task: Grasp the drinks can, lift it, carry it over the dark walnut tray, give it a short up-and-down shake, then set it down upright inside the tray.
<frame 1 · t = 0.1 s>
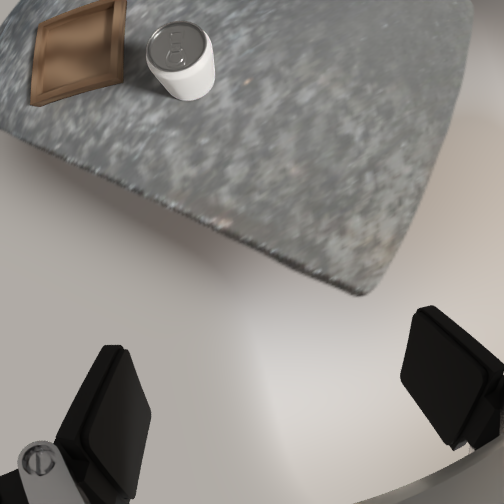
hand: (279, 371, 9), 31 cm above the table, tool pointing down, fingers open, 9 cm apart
can: (190, 78, 33), on the table
tray: (79, 51, 30), on the table
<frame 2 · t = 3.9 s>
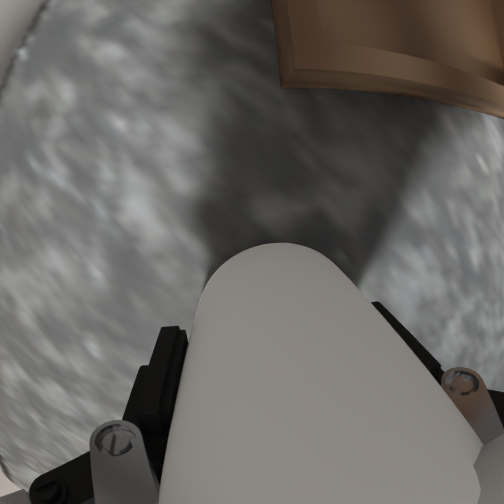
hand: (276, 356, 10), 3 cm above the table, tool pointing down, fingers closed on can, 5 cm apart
can: (275, 311, 13), on the table, touching gripper
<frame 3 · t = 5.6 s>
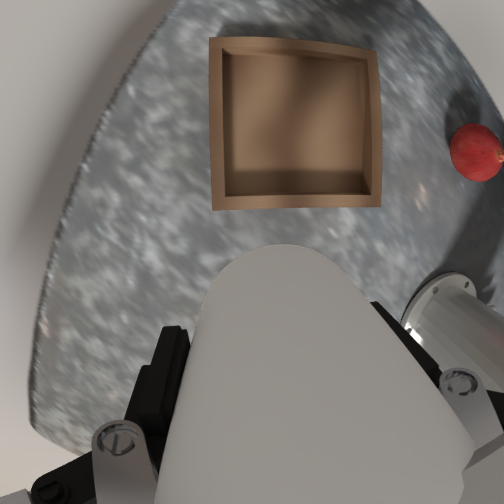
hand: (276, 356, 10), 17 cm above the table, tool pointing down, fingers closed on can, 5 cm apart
can: (278, 312, 13), point 14 cm above the table, touching gripper
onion: (452, 150, 26), on the table
tray: (294, 122, 24), on the table
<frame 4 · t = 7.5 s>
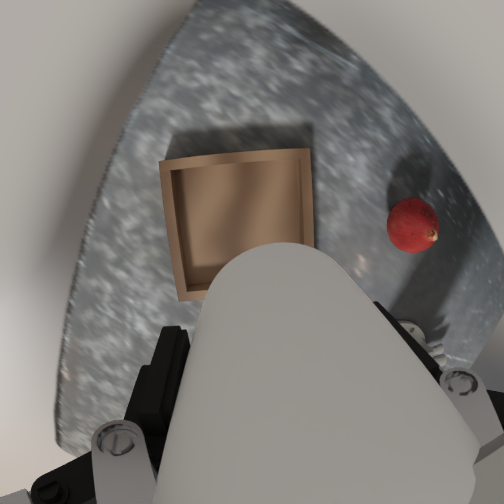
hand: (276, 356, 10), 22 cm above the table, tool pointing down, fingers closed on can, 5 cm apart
can: (279, 310, 13), point 19 cm above the table, touching gripper
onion: (394, 218, 32), on the table
tray: (239, 222, 31), on the table
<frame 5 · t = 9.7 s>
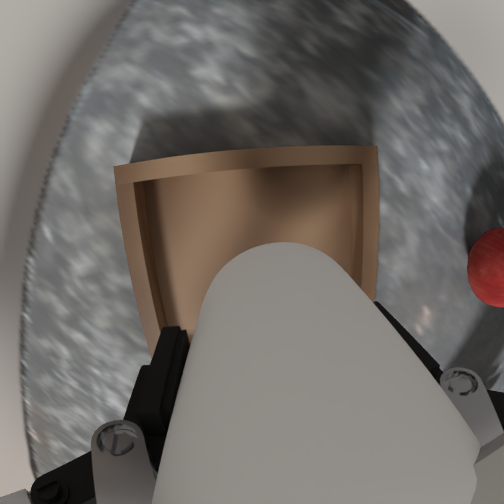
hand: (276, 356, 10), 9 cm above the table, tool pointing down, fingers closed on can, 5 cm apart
can: (279, 310, 13), point 6 cm above the table, touching gripper
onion: (470, 252, 20), on the table
tray: (255, 266, 19), on the table
when the fingers open (5 cm above the table, at t = 11.4 s): can stays where it is, resting on tray.
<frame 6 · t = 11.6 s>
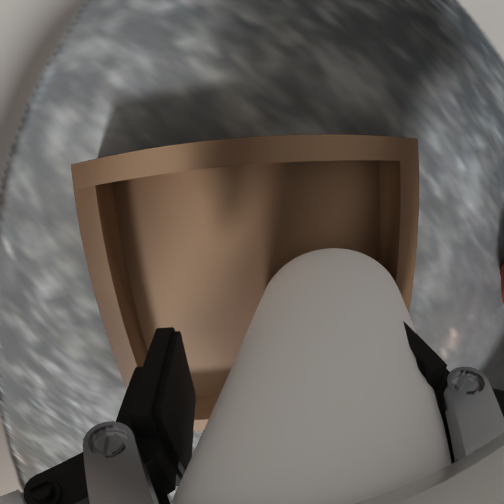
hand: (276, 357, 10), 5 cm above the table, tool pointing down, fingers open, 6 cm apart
can: (332, 308, 14), point 1 cm above the table, touching tray
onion: (501, 265, 16), on the table
tray: (258, 291, 15), on the table
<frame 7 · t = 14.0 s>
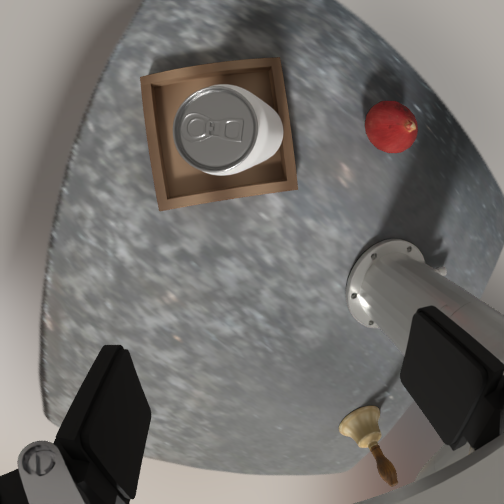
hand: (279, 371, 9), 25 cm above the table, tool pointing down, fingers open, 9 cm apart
hand bell: (359, 419, 46), on the table
can: (252, 132, 29), point 1 cm above the table, touching tray
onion: (373, 128, 31), on the table
tray: (218, 131, 29), on the table
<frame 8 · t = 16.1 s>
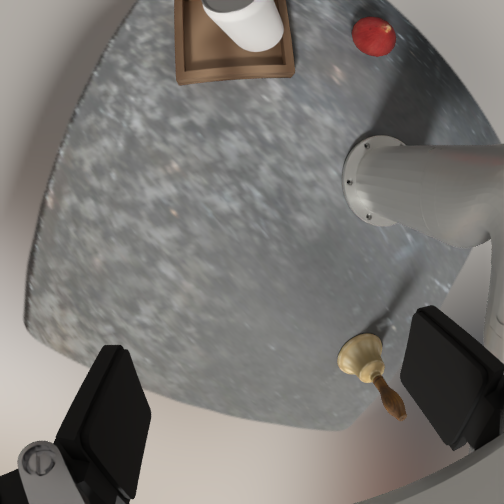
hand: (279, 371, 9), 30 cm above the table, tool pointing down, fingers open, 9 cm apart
hand bell: (359, 353, 46), on the table
can: (258, 31, 30), point 1 cm above the table, touching tray
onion: (362, 45, 32), on the table
tray: (231, 33, 31), on the table
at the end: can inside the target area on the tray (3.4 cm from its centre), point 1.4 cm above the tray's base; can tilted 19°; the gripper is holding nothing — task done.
